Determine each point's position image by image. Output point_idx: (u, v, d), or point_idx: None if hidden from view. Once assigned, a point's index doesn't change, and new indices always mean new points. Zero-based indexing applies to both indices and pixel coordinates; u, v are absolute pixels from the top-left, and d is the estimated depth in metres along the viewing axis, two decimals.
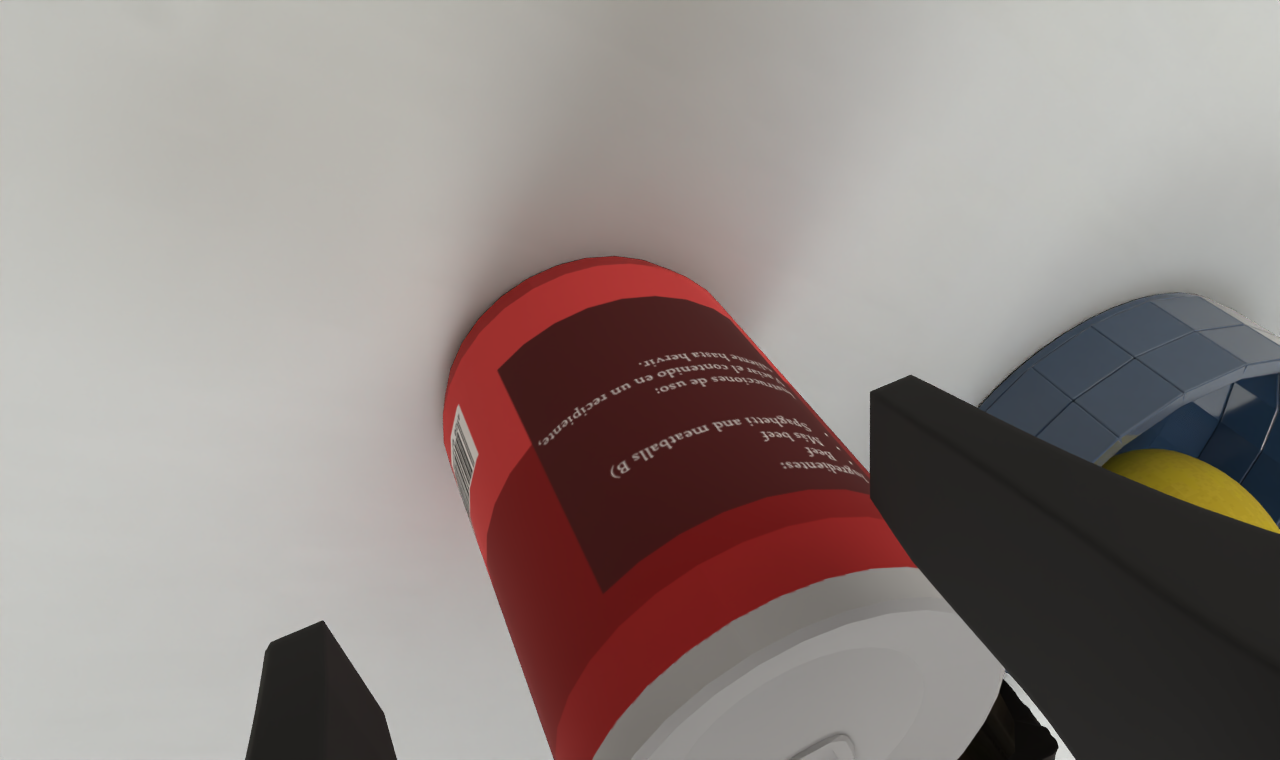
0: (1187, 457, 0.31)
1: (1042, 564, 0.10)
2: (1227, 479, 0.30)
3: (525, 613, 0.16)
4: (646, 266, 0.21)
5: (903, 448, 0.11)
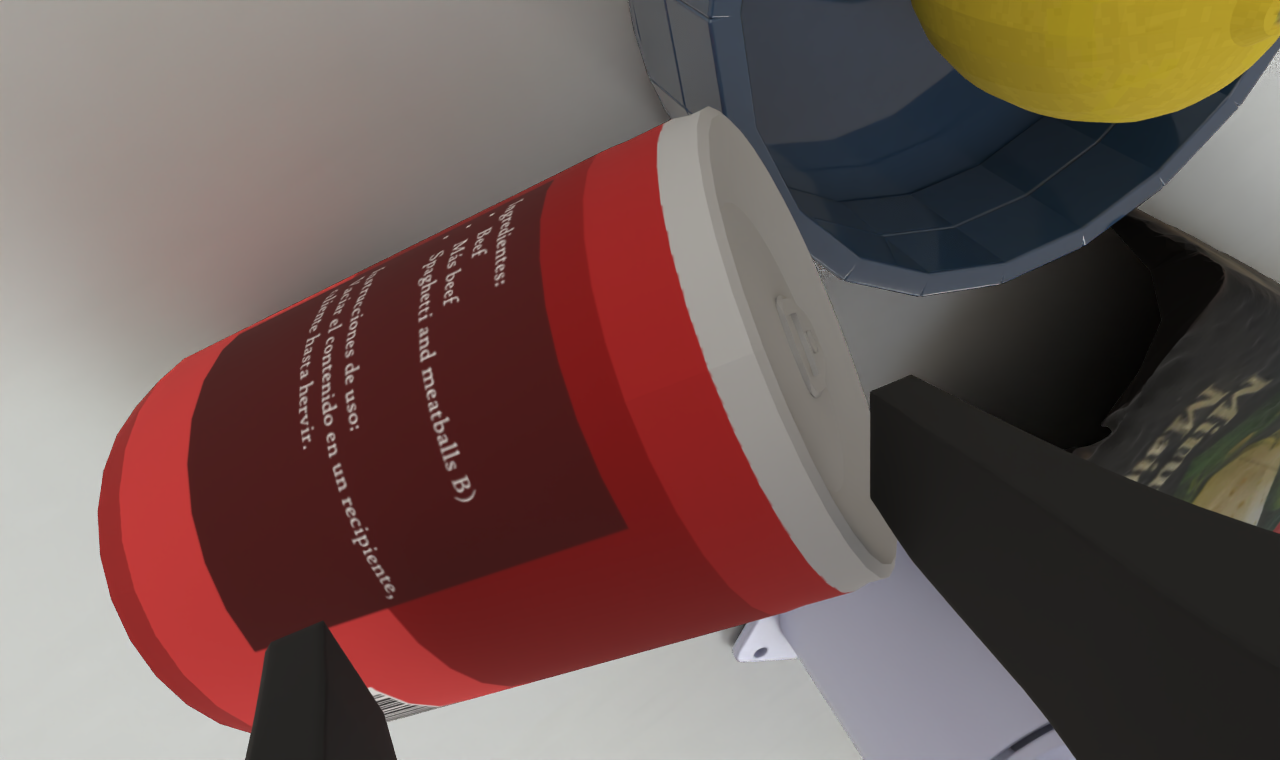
0: None
1: (1042, 564, 0.10)
2: None
3: (607, 636, 0.13)
4: (134, 428, 0.15)
5: (903, 448, 0.11)
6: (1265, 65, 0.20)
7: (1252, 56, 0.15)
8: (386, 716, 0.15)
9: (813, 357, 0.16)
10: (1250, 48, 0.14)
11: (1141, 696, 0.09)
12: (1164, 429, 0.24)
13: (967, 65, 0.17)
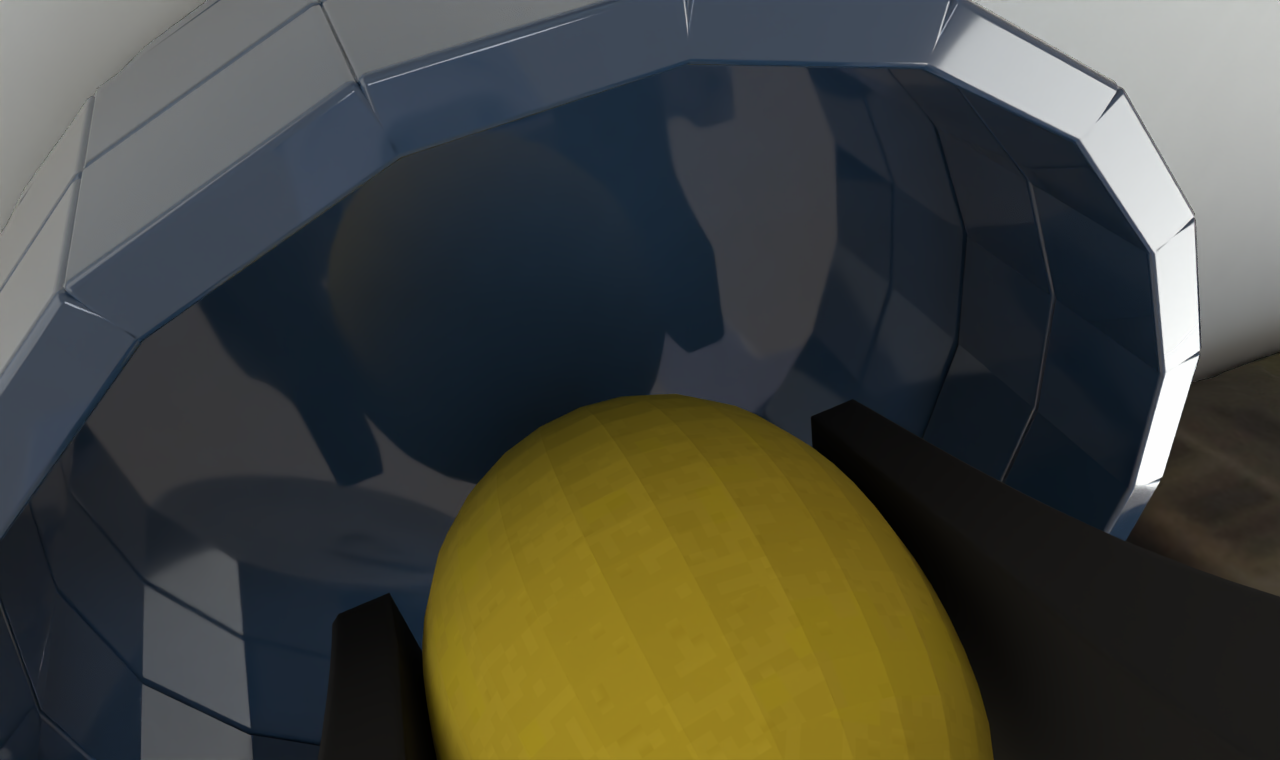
0: (428, 609, 0.10)
1: (973, 597, 0.10)
2: (446, 696, 0.09)
3: None
4: None
5: None
6: (1174, 425, 0.12)
7: None
8: None
9: None
10: None
11: (1068, 734, 0.09)
12: None
13: None
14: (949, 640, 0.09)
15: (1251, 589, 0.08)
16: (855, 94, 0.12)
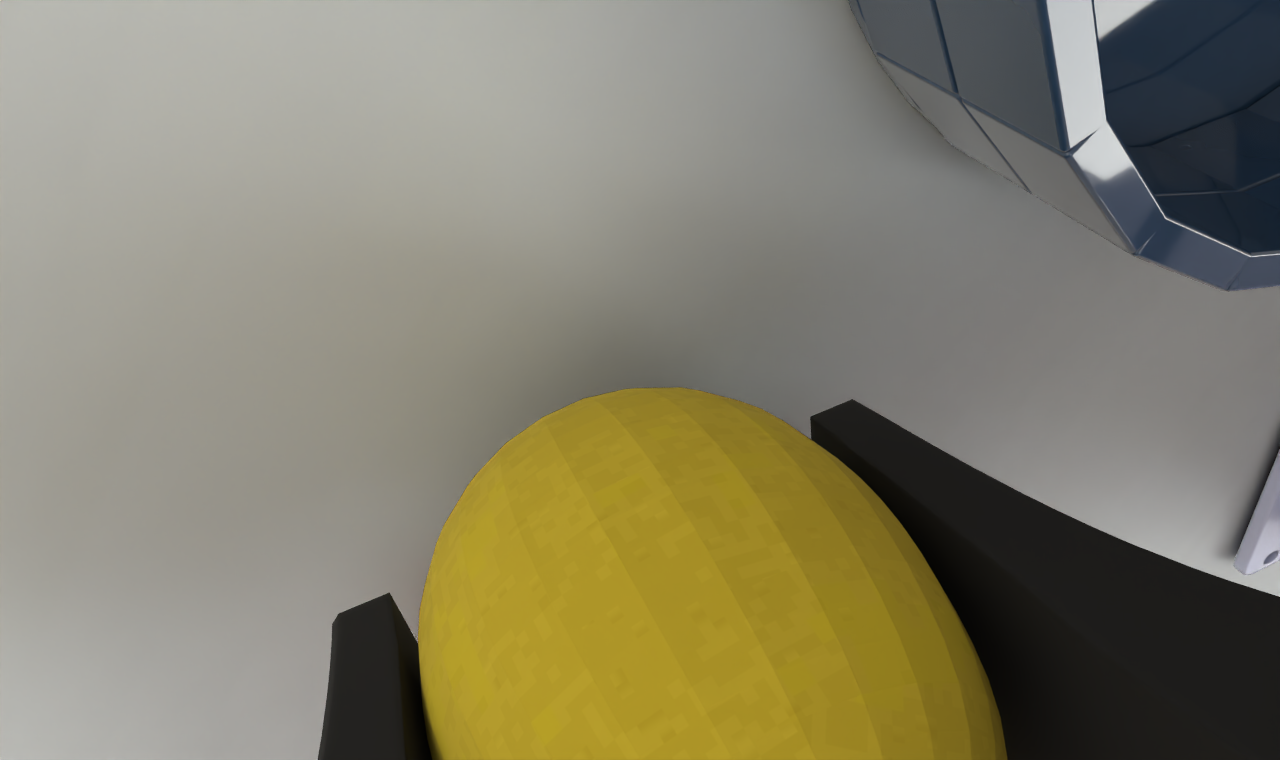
0: (425, 601, 0.10)
1: (973, 597, 0.10)
2: (449, 687, 0.09)
3: None
4: None
5: None
6: None
7: None
8: None
9: None
10: None
11: (1067, 735, 0.09)
12: None
13: None
14: (962, 632, 0.09)
15: (1251, 589, 0.08)
16: None
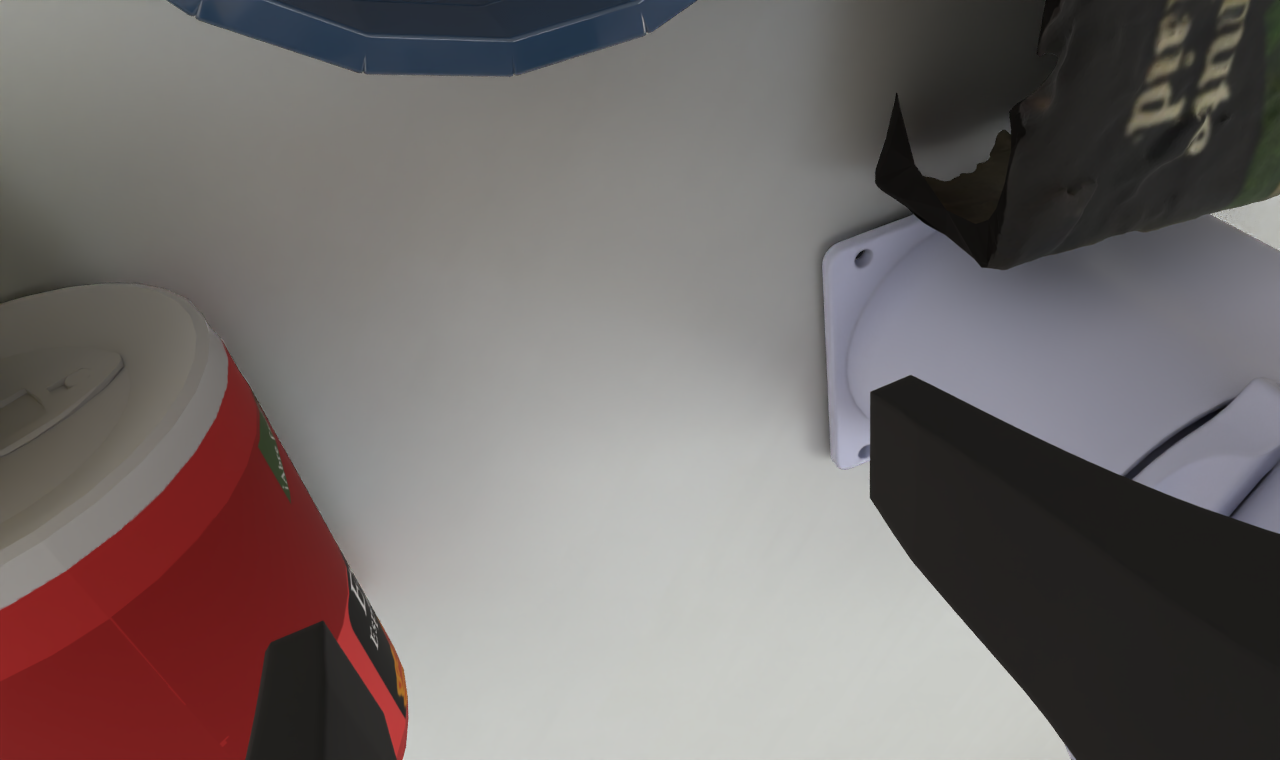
0: None
1: (1042, 564, 0.10)
2: None
3: None
4: None
5: (903, 448, 0.11)
6: None
7: None
8: None
9: (46, 403, 0.15)
10: None
11: (1141, 696, 0.09)
12: (1163, 5, 0.16)
13: None
14: None
15: None
16: None
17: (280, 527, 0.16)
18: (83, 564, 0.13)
